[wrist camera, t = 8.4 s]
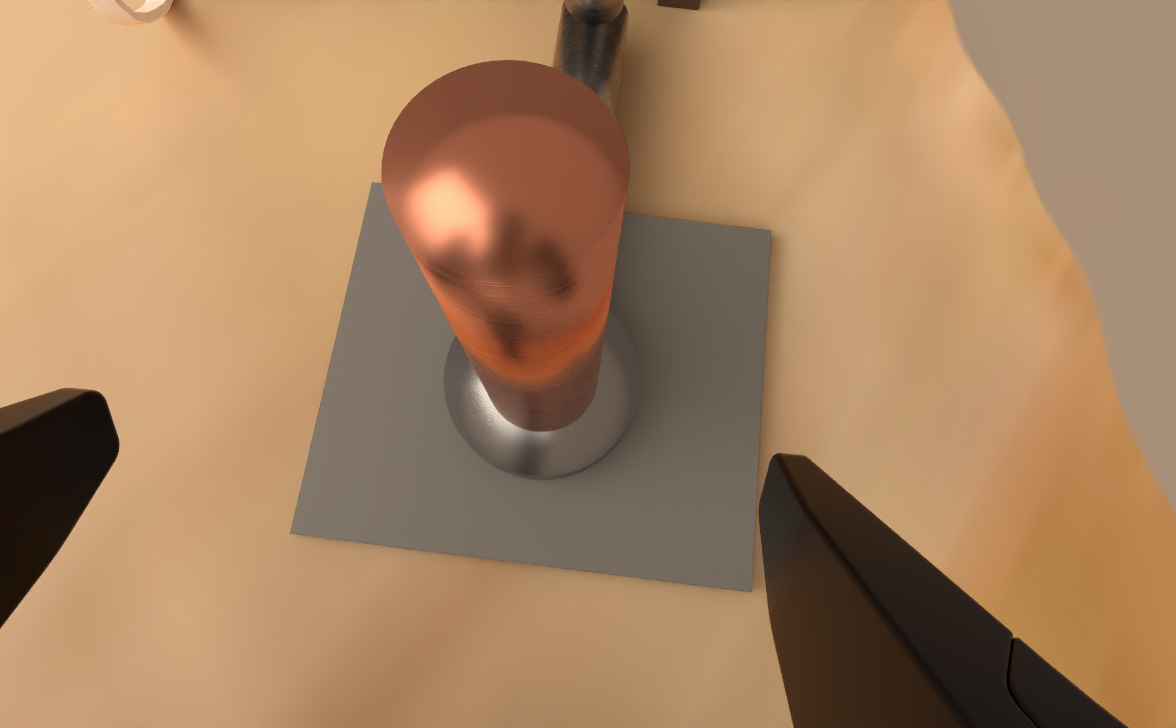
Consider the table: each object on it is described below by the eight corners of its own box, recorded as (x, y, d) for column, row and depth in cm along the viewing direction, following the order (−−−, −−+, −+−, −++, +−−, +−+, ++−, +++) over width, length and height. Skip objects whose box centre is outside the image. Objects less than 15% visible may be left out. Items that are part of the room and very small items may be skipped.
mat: (748, 591, 21) (751, 592, 20) (295, 534, 21) (289, 533, 20) (767, 235, 24) (771, 230, 24) (375, 188, 24) (372, 182, 24)
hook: (626, 491, 21) (705, 403, 9) (435, 467, 21) (233, 344, 9) (674, 37, 26) (772, -455, 13) (516, 19, 26) (463, -489, 13)
